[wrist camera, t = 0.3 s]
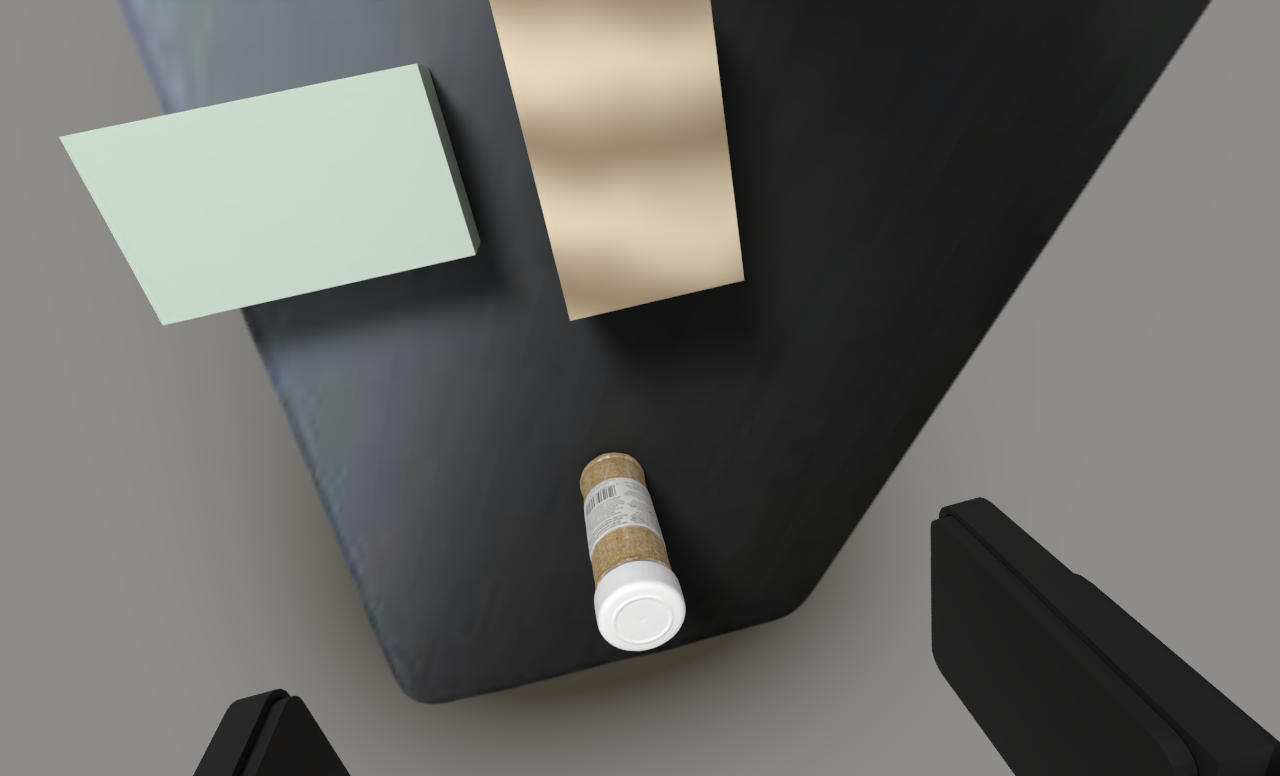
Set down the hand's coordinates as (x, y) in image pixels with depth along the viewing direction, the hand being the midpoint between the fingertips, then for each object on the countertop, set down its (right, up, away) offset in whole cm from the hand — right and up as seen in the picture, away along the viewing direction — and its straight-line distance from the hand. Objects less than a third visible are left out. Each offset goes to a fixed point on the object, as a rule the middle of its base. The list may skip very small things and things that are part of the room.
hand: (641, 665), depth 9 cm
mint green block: (-18, +15, +24) cm, 33 cm away
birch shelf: (-2, +18, +25) cm, 31 cm away
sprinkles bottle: (-2, -2, +35) cm, 35 cm away
